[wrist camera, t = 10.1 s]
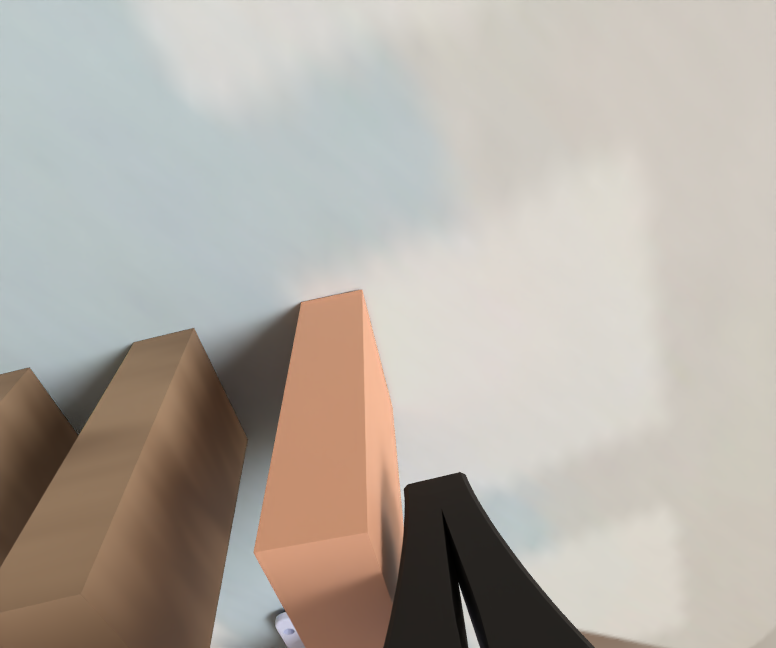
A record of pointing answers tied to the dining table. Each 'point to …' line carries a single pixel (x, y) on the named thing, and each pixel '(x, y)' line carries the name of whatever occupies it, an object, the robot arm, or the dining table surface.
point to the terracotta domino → (334, 483)
